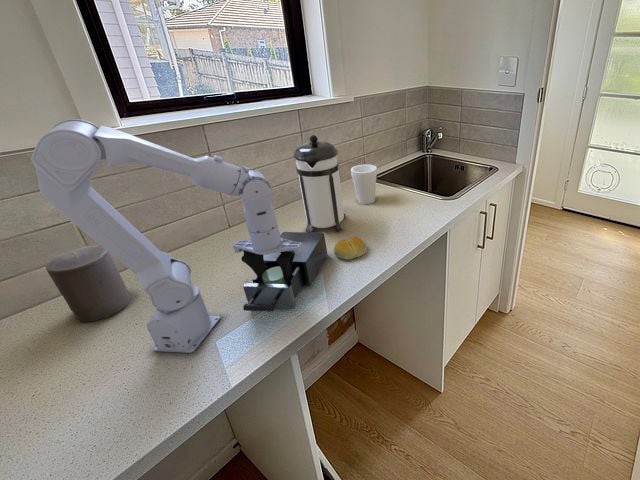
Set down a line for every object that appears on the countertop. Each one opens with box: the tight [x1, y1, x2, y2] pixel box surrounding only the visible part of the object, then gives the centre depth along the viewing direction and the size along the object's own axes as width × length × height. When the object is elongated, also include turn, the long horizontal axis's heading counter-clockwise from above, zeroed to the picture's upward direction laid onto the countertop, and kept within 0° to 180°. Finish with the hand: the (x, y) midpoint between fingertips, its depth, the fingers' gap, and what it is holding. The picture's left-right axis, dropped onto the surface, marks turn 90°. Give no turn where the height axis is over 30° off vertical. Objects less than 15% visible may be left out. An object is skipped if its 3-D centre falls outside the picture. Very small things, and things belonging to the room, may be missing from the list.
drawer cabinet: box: [263, 231, 329, 288], centre depth 88 cm, size 14×12×8 cm
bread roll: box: [333, 236, 368, 260], centre depth 96 cm, size 8×9×4 cm
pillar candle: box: [45, 245, 132, 323], centre depth 73 cm, size 10×10×15 cm
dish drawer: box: [242, 263, 306, 313], centre depth 78 cm, size 17×10×6 cm, turn 177°
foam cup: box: [350, 163, 378, 205], centre depth 125 cm, size 10×9×13 cm
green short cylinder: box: [262, 266, 288, 284], centre depth 77 cm, size 5×5×3 cm
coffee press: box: [292, 134, 346, 233], centre depth 106 cm, size 17×16×30 cm
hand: (275, 277), depth 77 cm, fingers closed on green short cylinder, 5 cm apart
